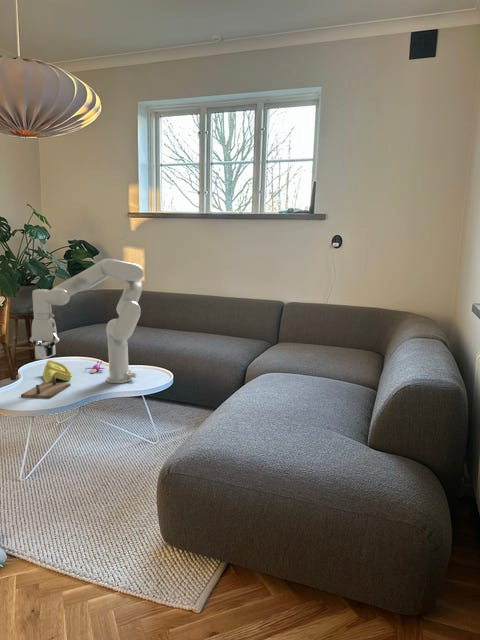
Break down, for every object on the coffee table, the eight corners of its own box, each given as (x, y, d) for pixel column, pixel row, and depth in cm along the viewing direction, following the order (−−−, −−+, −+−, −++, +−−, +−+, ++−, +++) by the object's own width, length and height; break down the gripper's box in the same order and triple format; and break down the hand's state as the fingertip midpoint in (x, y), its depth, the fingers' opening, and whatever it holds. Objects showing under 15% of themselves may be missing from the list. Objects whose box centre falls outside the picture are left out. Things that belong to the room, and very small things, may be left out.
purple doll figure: (109, 360, 237) (101, 371, 226) (110, 364, 238) (102, 376, 227) (89, 359, 238) (81, 371, 227) (90, 364, 239) (82, 376, 228)
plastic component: (73, 376, 215) (53, 370, 209) (67, 390, 215) (46, 385, 209) (64, 364, 232) (45, 358, 226) (58, 377, 232) (39, 372, 226)
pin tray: (70, 385, 208) (69, 375, 207) (50, 398, 190) (49, 387, 189) (43, 384, 209) (43, 374, 209) (21, 397, 192) (20, 386, 191)
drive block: (55, 354, 202) (55, 341, 201) (44, 359, 192) (43, 346, 191) (47, 353, 202) (47, 341, 201) (35, 359, 192) (34, 346, 191)
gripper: (64, 315, 197) (66, 354, 200) (30, 314, 198) (33, 352, 201) (56, 318, 189) (58, 358, 192) (20, 317, 191) (23, 356, 194)
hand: (45, 355), depth 197 cm, fingers closed on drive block, 4 cm apart
